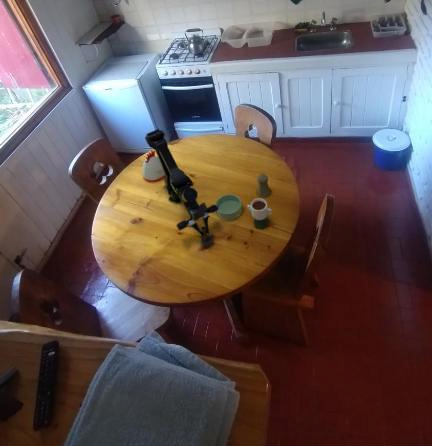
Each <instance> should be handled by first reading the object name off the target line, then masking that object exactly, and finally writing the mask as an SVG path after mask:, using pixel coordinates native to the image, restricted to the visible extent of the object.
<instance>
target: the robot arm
mask: <svg viewBox="0 0 432 446" xmlns="http://www.w3.org/2000/svg"><path fill="white" fill-rule="evenodd" d="M144 140H145V141H146V144H147V145H148V147H150V148H152V149H153V151H155V154H156V157H158V158H159V161H160V163H161V166H162V168H163V171H164V173H165V178H164V179H163V181H164V184H165V185H164V186H163V188H164V190H165V192H166V193H167V195H168V196H169V198H168V201H170V202H174V203H176V204H180V203H181V202H182V205H183V206H184V209H185V211H186V213H187V215H188V217H189V218H188V219H187V220H185V219H182V220H181V221H179V222H178V223H176V224H175V225H176V229H177V231H182V230H185V229H186V228H187V227H188V228H193V230H195V231H196V232H197V233H198V234H199V235H200V236H201V238H202V237H204V235H203V233H202V232H201V227H199V226H198V225H199V224H198V223H197V222H196V221H198V220H199V219H201V221H202V224H203V226H204V227H206V230H207V234H208V235H210V228H209V218H210V217H211V215H209V214H213V213H215V212H216V213H217V210H219V209H218V207H217V206H216V204H211V205H209V206H207V203H206V202H202V203H200V204H199V202H198V201H197V199H198V191H197V190H196V189H195V188H194V187H193V186H194V182H193V180H192V179H191V178H190V177H189V176H188V175H187V174H186V173H185V172H184V170H182V169H180V168H179V166H178V164H177V162H176V160H175V158H174V156H173V154H172V152H171V149H170V148H169V147H168V146H169V144H168V142H167V141H168V139H167V136H166V133H165V132H164V130H162V129H161V130H160V129H159V128H157V129H154V130H152V131H150V132H148V133H146V134H145V136H144Z"/></svg>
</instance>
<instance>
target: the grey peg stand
mask: <svg viewBox="0 0 432 446" xmlns="http://www.w3.org/2000/svg"><path fill="white" fill-rule="evenodd" d="M200 230H201V232H202V233H203V235H204V237H202V236H201V237H200V243H201V245H202V247H204V248H210V247H211V246H213V244H214V240H213V237H212V235H210V234H208V233H207V230H206V227H205V226H204V225H203V226H201V227H200Z"/></svg>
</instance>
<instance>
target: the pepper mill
mask: <svg viewBox="0 0 432 446" xmlns="http://www.w3.org/2000/svg"><path fill="white" fill-rule="evenodd" d="M268 181H269V177H268V175H267V174H265V173H260V174H258V175H257V177H256V182H257V183H258V184H257V195H258V196H259V197H260V198H266V197H269V196H270V195H271V189H270V187H269V183H268Z"/></svg>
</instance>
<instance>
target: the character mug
mask: <svg viewBox="0 0 432 446" xmlns="http://www.w3.org/2000/svg"><path fill="white" fill-rule="evenodd" d="M246 207H247V211H249V212H251V216H252V218H253V225H254V226H255V227H256V228H257V229H261V230H262V229H264V228H266V227H268V224H269V220H268V215H270V216H271V215H272V214H273V211H272V209H271V208H269V207H268V203H267V201H266V199H264V198H262V197H260V198H259V197H258V198H254V199H253V200H252V201H251V202H250V204H247V206H246Z"/></svg>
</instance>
